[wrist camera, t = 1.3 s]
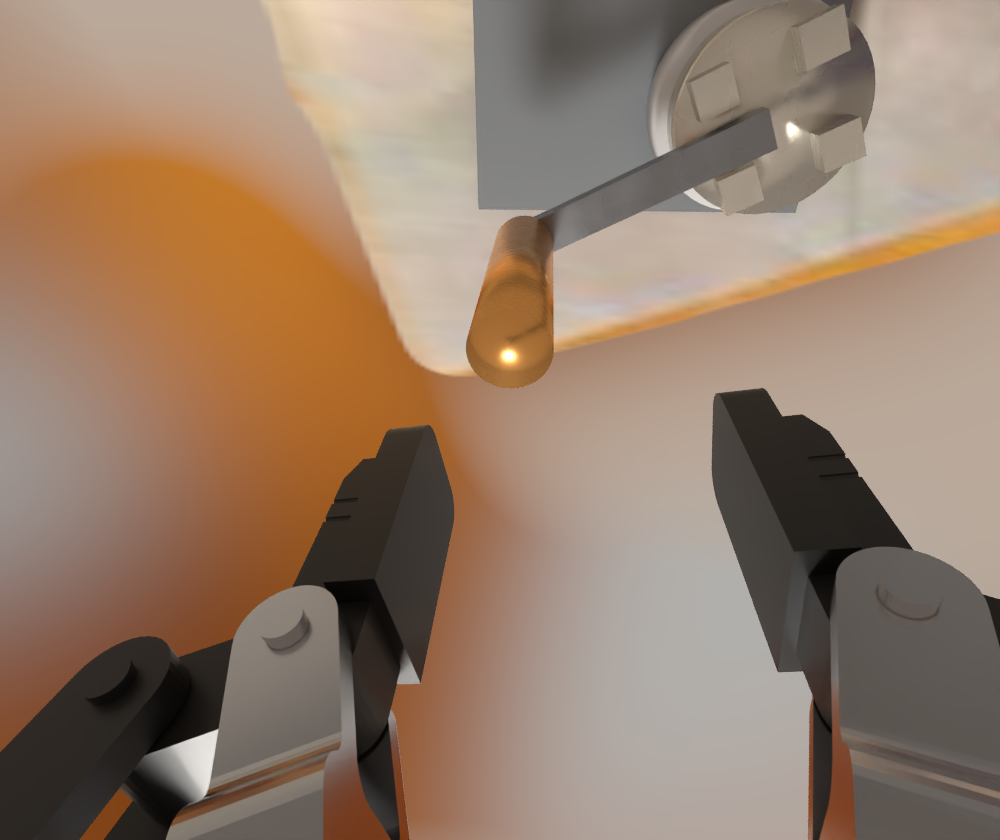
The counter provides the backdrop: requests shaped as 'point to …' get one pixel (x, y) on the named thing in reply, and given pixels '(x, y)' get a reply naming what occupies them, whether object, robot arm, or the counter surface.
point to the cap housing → (582, 92)
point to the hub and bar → (696, 162)
